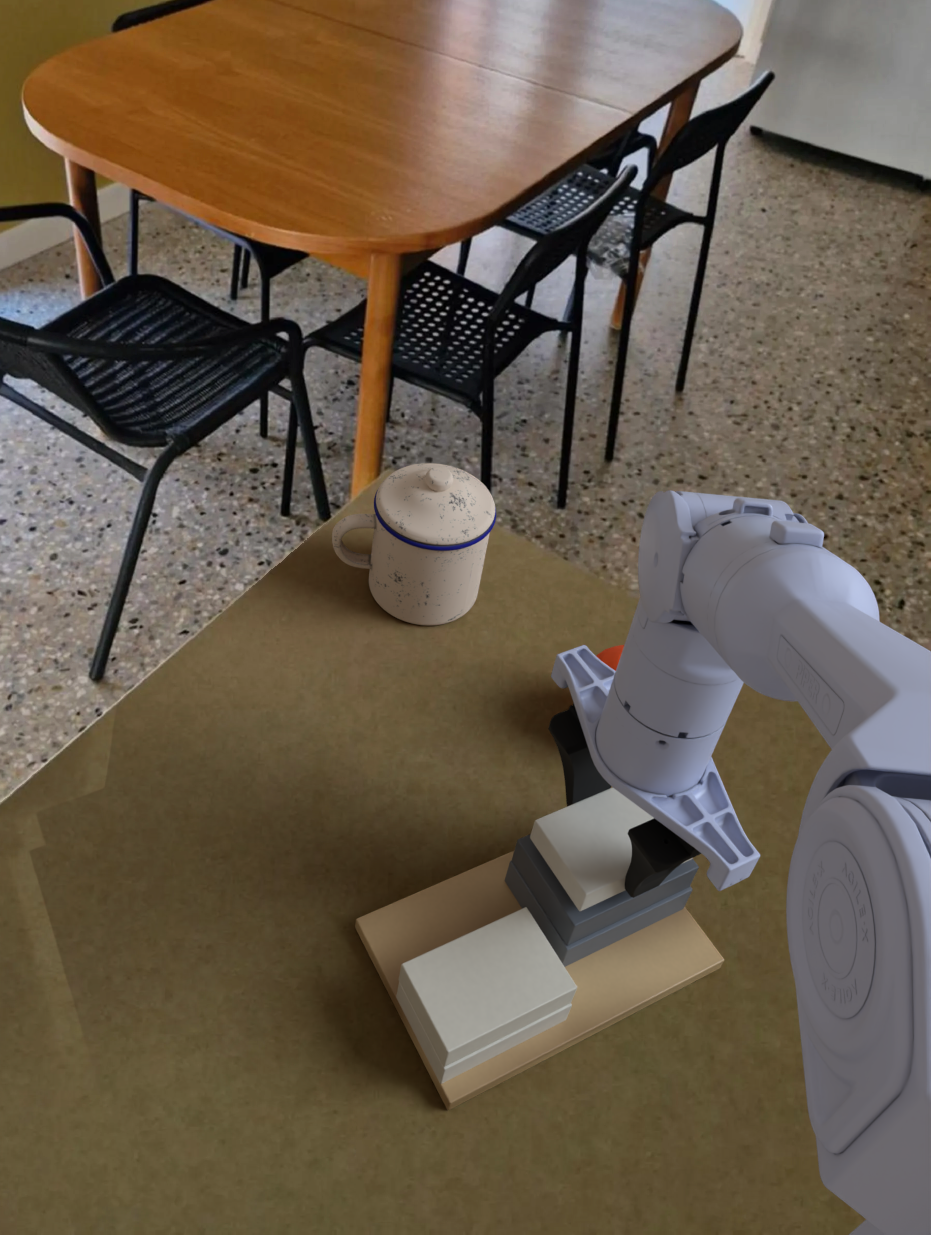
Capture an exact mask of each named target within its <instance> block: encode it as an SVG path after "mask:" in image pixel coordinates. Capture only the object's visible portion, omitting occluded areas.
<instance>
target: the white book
mask: <svg viewBox="0 0 931 1235" xmlns="http://www.w3.org/2000/svg"><path fill="white" fill-rule="evenodd" d="M651 819H654V818H653V817H652V816H651V815H649V814H648V813H647V812H645V811H644V810H643V809H641V808H640V807H639V806H637V805H636V804H635V803H633V802H632V801H631V800H629V799H628V798H626V797H625V796H624V795H622V794H621V793H620V792H618V791H617V790H616V789H614V788H613V787H612V786H611V788H610V789H608V790H605V791H603V792H600V793H598V794H596V795H593V796H591V797H589V798H586V799H584V800H582V801H579V802H577V803H574V804H572V805H570V806H567V805H566V806H565V807H563V808H561V809H558V810H555V811H553V812H550V813H548V814H547V815H546V814H545V815H544V816H542V817H539V818H537V819H535V820H534V822H533V825H532V830H531V831H530V832H531V833H530V834H531V835H530V834H529V835H530V839H531V840H532V842H533V843H534V845H535V846H536V848H537V849H538V851H539V852H540V854H541V855H542V857H543V858H544V860H545V861H546V862H547V864H548V865H549V867H550V868H551V870H552V871H553V873H554V874H555V876H556V877H557V879H558V880H559V882H560V883H561V885H562V886H563V888H564V889H565V891H566V892H567V894H568V895H569V897H570V898H571V900H572V901H573V903H574V904H575V906H576V907H577V909H578V910H579V911H582V910H584V909H587V908H589V907H591V906H593V905H595V904H597V903H599V902H601V901H604V900H606V899H608V898H610V897H612V896H614V895H616V894H618V893H621V892H623V891H625V876H626V874H627V871H628V868H629V866H630V863H631V857H632V845H631V841H630V838H629V836H628V831H629V829H631V828H633V827H636V826H638V825H640V824H642V823H645V822H647V821H649V820H651ZM691 859H693V860H694V857H693V858H691ZM691 859H689V860H691ZM689 860H687V861H689ZM687 861H685V862H687ZM685 862H683V863H685Z"/></svg>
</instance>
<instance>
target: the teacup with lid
mask: <svg viewBox="0 0 931 1235" xmlns="http://www.w3.org/2000/svg"><path fill="white" fill-rule="evenodd" d="M496 507H497V506H496V504H495V500H494V498H493V496H492V494H491V491H490V490H489V489H488V487H487V486H486V485H485V484H484V483H483V482H482V481H481V480H479V479H478V478H477V477H475V476H474V475H472V474H471V473H469V472H468V471H465V470H463V469H461V468H458V467H455V466H453V465H448V464H443V463H433V462H424V463H422V462H421V463H415V464H410V465H407V466H404V467H400V468H399V469H396V470H395V471H393V472H391V473H390V474H389V475H388V476H386V477H385V478H384V479H383V480H382V482H381V483H380V484H379V486H378V488H377V489H376V492H375V494H374V498H373V511H374V513H353V514H349V515H347V516H345V517H343V518H341V519H340V520H339V521H337V522H336V524H335V525H334V527H333V528H332V532H331V543H332V548H333V551H334V553H335V554H336V556H337V557H338V558H339V559H340V561H342V562H343V563H344V564H346V565H348V566H350V567H353V568H357V569H364V570H365V569H366V570H369V572H368V573H369V574H368V587H369V590H370V593H371V595H372V597H373V599H374V600H375V602H376V603H377V604H378V605H379V607H381V609H383V610H384V611H385V612H386V613H388V614H389V615H391V616H392V617H395V618H396V619H398V620H401V621H403V622H406V623H410V624H413V625H420V626H439V625H440V626H441V625H444V624H448V623H451V622H454V621H456V620H458V619H460V618H462V617H464V616H465V615H466V614H467V613H468V612H469V611H470V610H471V609H472V608H473V606H474V604H475V603H476V600H477V598H478V595H479V590H480V584H481V579H482V574H483V568H484V565H485V559H486V554H487V549H488V545H489V544H488V543H489V540H490V534H491V532H492V530H493V528H494V526H495V523H496V520H497V508H496ZM358 529H370V530H371V529H373V535H372V544H371V554H367V553H359V552H355V551H353V550H351V549H349V548H348V547H347V546H346V545H345V544H344V542H343V541H342V540H343V539H342V538H343V537H344V535H346V534H347V533H349V532H350V531H352V530H358Z"/></svg>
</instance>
